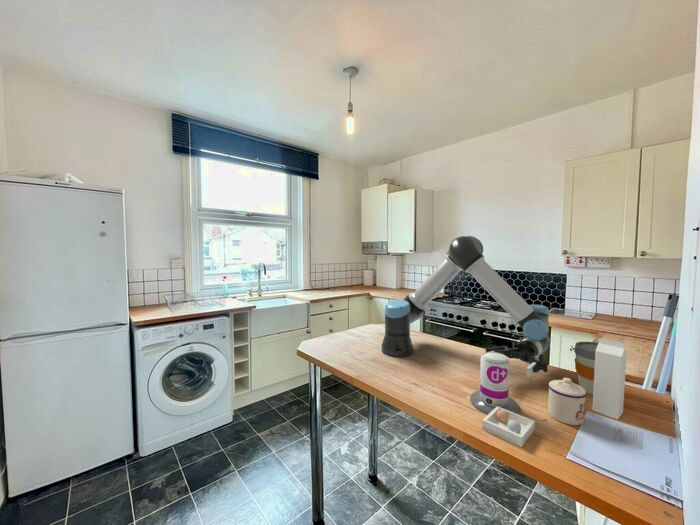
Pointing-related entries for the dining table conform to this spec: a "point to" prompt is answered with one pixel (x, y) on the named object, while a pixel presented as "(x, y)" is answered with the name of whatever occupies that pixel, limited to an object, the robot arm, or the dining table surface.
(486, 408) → the slate coaster
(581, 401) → the teacup with lid
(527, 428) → the ball dish
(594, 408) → the milk
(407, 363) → the dining table surface
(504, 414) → the ball terracotta
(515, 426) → the ball grey
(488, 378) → the supplement can
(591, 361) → the reusable coffee cup
